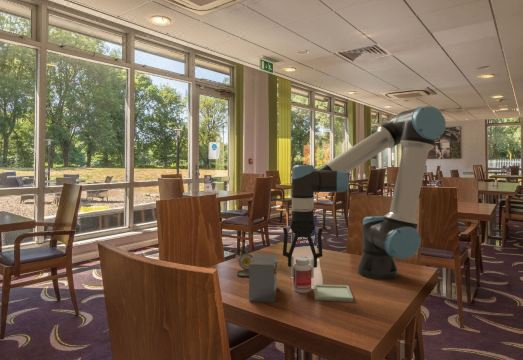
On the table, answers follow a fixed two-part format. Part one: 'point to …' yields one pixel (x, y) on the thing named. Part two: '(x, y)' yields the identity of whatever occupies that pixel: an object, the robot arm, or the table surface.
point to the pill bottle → (302, 275)
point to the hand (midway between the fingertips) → (302, 276)
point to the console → (263, 277)
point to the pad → (333, 293)
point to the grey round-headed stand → (244, 260)
